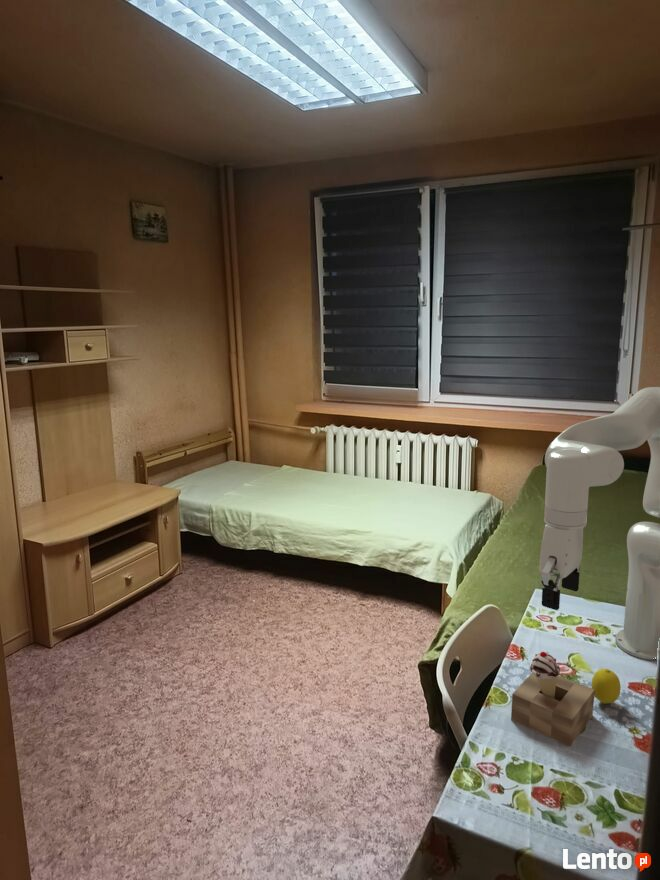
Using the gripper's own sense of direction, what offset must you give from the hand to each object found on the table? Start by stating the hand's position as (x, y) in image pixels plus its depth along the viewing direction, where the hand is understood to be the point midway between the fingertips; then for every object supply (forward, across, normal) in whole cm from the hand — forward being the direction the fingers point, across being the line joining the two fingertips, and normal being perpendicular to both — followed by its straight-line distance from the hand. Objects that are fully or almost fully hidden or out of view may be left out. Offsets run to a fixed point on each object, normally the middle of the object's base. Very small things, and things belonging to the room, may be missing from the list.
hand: (560, 598), depth 118 cm
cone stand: (+26, +1, 0) cm, 26 cm away
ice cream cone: (+26, +1, 0) cm, 27 cm away
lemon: (+27, -11, +6) cm, 30 cm away
